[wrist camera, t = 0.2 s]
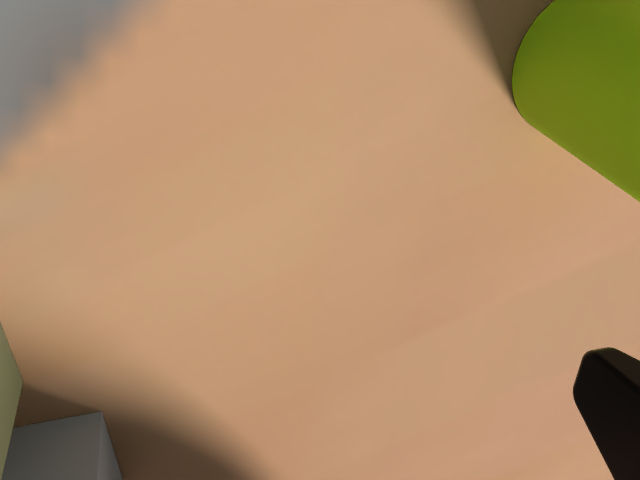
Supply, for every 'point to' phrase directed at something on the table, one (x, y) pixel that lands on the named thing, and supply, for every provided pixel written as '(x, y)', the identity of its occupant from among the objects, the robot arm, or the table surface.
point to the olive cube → (7, 395)
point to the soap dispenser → (585, 84)
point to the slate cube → (62, 451)
